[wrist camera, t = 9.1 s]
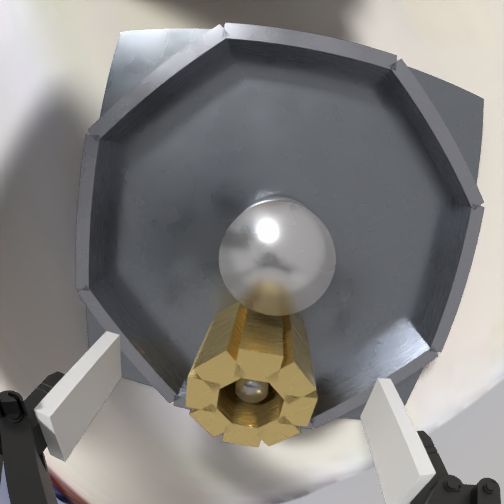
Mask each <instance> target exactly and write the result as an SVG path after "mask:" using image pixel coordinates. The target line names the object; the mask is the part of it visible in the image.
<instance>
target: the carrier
mask: <svg viewBox="0 0 504 504" xmlns="http://www.w3.org/2000/svg"><path fill="white" fill-rule="evenodd" d="M483 108H484V99H483V98H481V97H479V96H477V95H475V94H473V93H471V92H469V91H466V90H464V89H462V88H460V87H458V86H455V85H453V84H451V83H449V82H446V81H444V80H441V79H439V78H437V77H434V76H432V75H429V74H426V73H424V72H421V71H418V70H416V69H413V68H410V67H407V65H406V64H405V63H404V61H403V60H402V59H400V60H398V61H397V55H394V54H391V53H388V52H385V51H381V50H378V49H375V48H371V47H368V46H364V45H360V44H357V43H353V42H349V41H345V40H341V39H336V38H332V37H327V36H322V35H318V34H312V33H307V32H301V31H296V30H289V29H283V28H275V27H268V26H259V25H249V24H237V23H225V26H224V28H223V27H222V26H221V25H220V24H219V25H217V26H216V27H214V28H213V29H149V30H133V31H122V32H121V33H120V36H119V39H118V43H117V46H116V50H115V53H114V57H113V61H112V65H111V69H110V73H109V77H108V81H107V85H106V90H105V94H104V99H103V104H102V109H101V114H100V119H99V120H98V121H97V122H96V123H95V124H94V125H93V126H92V127H91V128H90V129H89V132H90V133H91V135H86V137H85V144H84V151H83V158H82V166H81V175H80V184H79V195H78V208H77V226H76V289H80V291H79V292H78V295H79V296H80V297H81V299H82V300H83V301H84V303H85V304H86V310H87V329H88V343H89V349H90V348H91V347H92V346H93V345H94V344H95V342H96V341H97V340H98V339H99V338H100V337H101V336H102V335H103V334H104V333H105V332H106V331H108V332H112V333H115V334H119V335H120V356H121V374H122V377H123V378H126V379H129V380H133V381H136V382H139V383H143V384H146V385H150V386H153V387H154V388H155V389H156V390H157V391H158V392H159V393H160V394H161V395H162V396H163V397H164V398H165V399H166V400H167V401H168V402H169V403H171V402H173V401H174V406H177V407H181V408H185V409H190V410H191V407H186V392H187V379H188V375H189V373H190V370H191V368H192V366H193V363H194V361H195V359H196V357H197V354H198V352H199V350H200V347H201V345H202V343H203V341H204V338H205V336H206V334H207V332H208V329H209V327H210V325H211V322H213V321H214V319H215V317H216V315H217V314H219V313H220V312H222V311H224V310H225V309H227V308H228V307H230V306H231V305H233V304H235V303H236V302H238V301H239V302H240V303H241V304H242V305H244V306H245V307H247V308H249V309H251V310H253V311H255V312H258V313H261V314H265V315H272V316H282V315H289V314H293V313H294V315H295V316H296V318H297V319H298V320H299V322H300V323H301V324H302V326H303V327H304V329H305V330H306V332H307V338H308V343H309V349H310V354H311V360H312V366H313V372H314V378H315V384H316V390H317V396H318V399H317V402H316V405H315V408H314V410H313V413H312V416H311V418H310V421H309V423H308V426H300V428H306V429H312V426H314V427H315V428H317V427H319V426H321V425H324V424H326V423H328V422H330V421H332V420H334V419H336V418H349V419H361V418H360V416H361V414H362V412H363V410H364V408H365V406H366V403H367V401H368V399H369V397H370V395H371V392H372V390H373V388H374V386H375V383H376V381H377V379H378V378H387V379H391V380H392V382H393V384H394V386H395V388H396V390H397V392H398V394H399V396H400V398H401V400H402V402H403V404H404V406H405V404H406V402H407V400H408V398H409V396H410V394H411V392H412V390H413V388H414V386H415V384H416V382H417V379H418V377H419V375H420V373H421V371H422V368H423V366H425V365H426V364H428V363H429V362H430V361H432V360H433V359H435V358H436V357H437V356H438V354H437V352H441V351H442V349H443V347H444V344H445V342H446V339H447V337H448V334H449V332H450V329H451V326H452V324H453V321H454V318H455V315H456V313H457V310H458V307H459V304H460V301H461V298H462V295H463V292H464V288H465V285H466V282H467V278H468V275H469V272H470V268H471V264H472V261H473V257H474V253H475V249H476V245H477V241H478V236H479V232H480V227H481V223H482V218H483V213H484V207H482V206H480V205H481V204H482V203H484V201H483V199H482V196H481V194H480V192H479V189H478V187H477V185H476V184H477V177H478V169H479V161H480V152H481V141H482V128H483ZM235 392H236V394H237V396H238V397H239V398H240V399H241V400H243V401H245V402H250V403H256V402H260V401H262V400H263V399H265V398H266V396H267V394H268V382H262V381H256V380H250V379H244V378H240V379H238V380H237V382H236V387H235Z"/></svg>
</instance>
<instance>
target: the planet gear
mask: <svg viewBox="0 0 504 504" xmlns="http://www.w3.org/2000/svg"><path fill="white" fill-rule="evenodd" d="M240 378H244V379H250V380H256V381H262V382H268V394H267V396H266V398H265V399H263V400H262V401H260V402H256V403H250V402H245V401H243V400H241V399H240V398H239V397H238V396H237V394H236V392H235V387H236V382H237V380H238V379H240ZM317 399H318V396H317V390H316V384H315V378H314V372H313V366H312V360H311V354H310V349H309V343H308V338H307V332H306V330H305V329H304V327H303V326H302V324H301V323H300V322H299V320H298V319H297V318H296V316H295V315H294V313H293V314H289V315H282V316H272V315H265V314H261V313H258V312H255V311H253V310H251V309H249V308H247V307H245V306H244V305H242V304H241V303H240V302H239V301H238V302H236V303H235V304H233V305H231V306H230V307H228V308H227V309H225V310H224V311H222V312H220V313H219V314H217V315H216V317H215V319H214V321H213V322H211V325H210V327H209V329H208V332H207V334H206V336H205V338H204V341H203V343H202V345H201V347H200V350H199V352H198V354H197V357H196V359H195V361H194V363H193V366H192V368H191V370H190V373H189V375H188V379H187V392H186V407H191V410H190V413H189V415H190V416H191V417H192V418H194V419H195V420H196V421H197V422H198V423H199V424H200V425H201V426H202V427H203V428H204V429H205V430H206V431H207V432H208V433H209V434H210V435H212V436H213V437H215V436H217V435H220V434H222V433H224V435H223V442H228V443H234V444H240V445H246V446H252V447H259V444H260V441H261V439H262V440H263V441H264V442H265V443H266V444H267V445H268V446H271V445H273V444H276V443H278V442H281V441H283V440H285V439H288V438H290V437H292V436H294V435H297V434H299V433H301V430H300V426H308V423H309V421H310V418H311V416H312V413H313V410H314V408H315V405H316V402H317Z"/></svg>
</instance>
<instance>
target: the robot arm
mask: <svg viewBox="0 0 504 504" xmlns="http://www.w3.org/2000/svg"><path fill="white" fill-rule="evenodd" d="M121 378H122V374H121V356H120V335H119V334H115V333H112V332H108V331H106V332H105V333H104V334H103V335H102V336H101V337H100V338H99V339H98V340H97V341H96V342H95V344H94V345H93V346H92V347H91V348H90V349H89V350H88V351H87V352H86V353H85V354H84V355H83V356H82V357H81V358H80V359H79V360H78V361H77V362H76V364H75V365H74V366H73V367H72V368H71V369H70V370H69V371H68V372H67V373H66V374H63V373H60V372H55V373H53V374H51V375H49V376H48V377H47V378H46V379H45V380H44V381H43V382H42V384H40V385H39V386H38V387H37V389H35V390H34V391H33V392H32V393H31V394H30V395H29V397H28V398H27V399H26V400H25V401H23V398H22V396H21V395H20V394H19V393H17V392H15V391H3V392H1V393H0V482H1V473H2V466H3V461H4V468H5V475H6V482H7V487H8V493H9V498H10V502H11V504H58V503H57V499H56V496H55V493H54V490H53V486H52V483H51V479H50V476H49V472H48V468H47V464H46V460H45V456H44V454H43V451H44V450H45V448H46V447H47V448H48V450H49V452H50V455H52V456H54V457H56V458H58V459H61V460H63V461H65V462H66V460H67V458H68V457H69V455H70V454H71V452H72V451H73V449H74V448H75V446H76V445H77V443H78V442H79V440H80V438H81V437H82V435H83V434H84V432H85V431H86V429H87V428H88V426H89V425H90V423H91V422H92V420H93V419H94V417H95V416H96V414H97V413H98V411H99V410H100V408H101V407H102V405H103V404H104V402H105V401H106V399H107V398H108V397H109V395H110V394H111V392H112V391H113V389H114V388H115V386H116V385H117V383H118V382H119V380H120V379H121ZM360 418H361V421H362V424H363V428H364V431H365V434H366V437H367V441H368V444H369V447H370V451H371V454H372V457H373V461H374V464H375V468H376V471H377V475H378V478H379V482H380V485H381V489H382V493H383V496H384V500H385V504H501V500H500V499H501V498H500V487H499V485H498V483H497V482H496V481H495V480H493V479H491V478H483V479H481V480H480V481H479V482H478V483H477V485H465V484H462V482H461V481H460V479H458V478H457V477H455V476H453V475H448V473H447V471H446V469H445V466H444V464H443V462H442V460H441V458H440V456H439V454H438V453H437V450H436V448H435V447H434V444H433V442H432V440H431V438H430V437H429V436H428V435H427V434H426V433H425V432H424V431H416V429H415V427H414V425H413V422H412V420H411V418H410V416H409V414H408V412H407V410H406V408H405V406H404V404H403V402H402V400H401V398H400V396H399V394H398V392H397V390H396V388H395V386H394V384H393V382H392V380H391V379H387V378H378V379H377V381H376V383H375V386H374V388H373V390H372V392H371V395H370V397H369V399H368V401H367V403H366V406H365V408H364V410H363V412H362V414H361V416H360Z"/></svg>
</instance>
